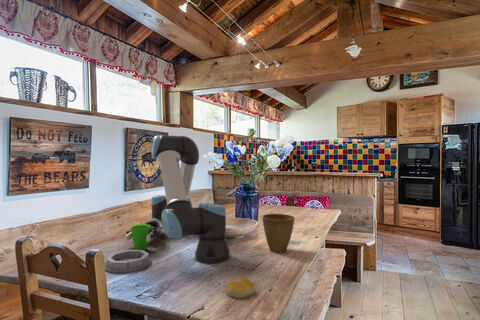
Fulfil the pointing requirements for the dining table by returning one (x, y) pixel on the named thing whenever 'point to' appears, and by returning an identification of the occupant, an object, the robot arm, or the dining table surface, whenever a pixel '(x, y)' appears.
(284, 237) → the plant pot
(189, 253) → the dining table surface
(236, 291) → the bread roll
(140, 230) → the cup
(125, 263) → the ring
